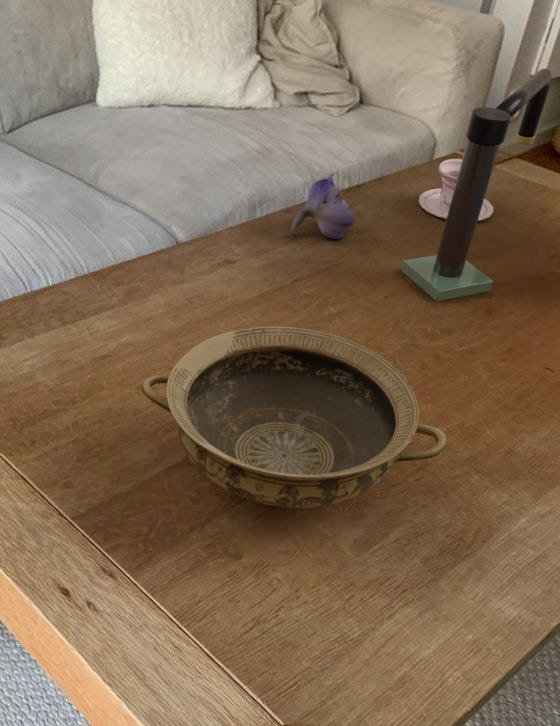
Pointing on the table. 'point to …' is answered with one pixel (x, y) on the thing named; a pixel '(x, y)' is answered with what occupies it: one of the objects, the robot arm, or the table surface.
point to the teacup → (448, 192)
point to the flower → (326, 210)
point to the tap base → (458, 233)
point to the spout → (512, 113)
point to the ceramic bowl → (291, 415)
